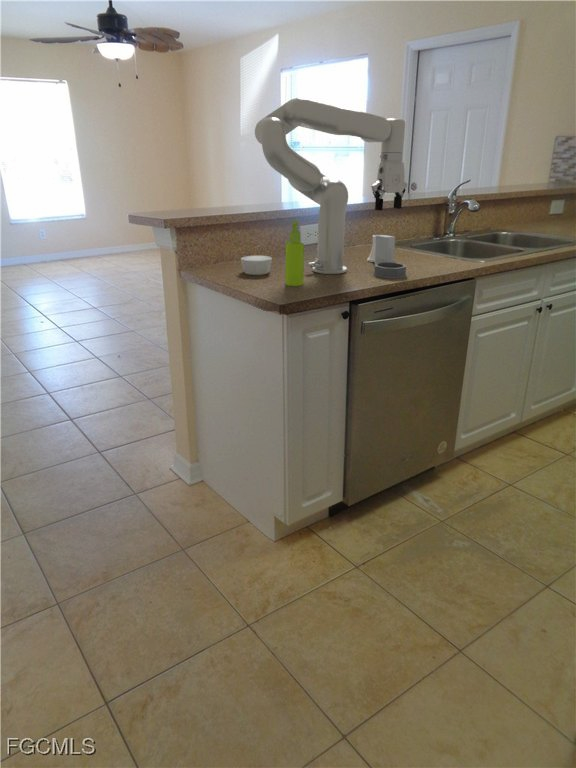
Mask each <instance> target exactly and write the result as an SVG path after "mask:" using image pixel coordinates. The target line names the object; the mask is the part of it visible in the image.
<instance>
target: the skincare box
mask: <svg viewBox="0 0 576 768" xmlns="http://www.w3.org/2000/svg"><path fill="white" fill-rule="evenodd" d="M377 235H378V236H376V250H375V263H381V262H394V263H395V247H396V245H395V243H396V236H394V235H388V234H386V235H385V234H377ZM375 263H374V264H375Z"/></svg>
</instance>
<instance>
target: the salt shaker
mask: <svg viewBox="0 0 576 768" xmlns="http://www.w3.org/2000/svg"><path fill="white" fill-rule="evenodd" d="M378 235H379V234H373V235H372V245H371V251H370V252H369V256H368V257H367V262H368V261H369V263H373V262H374V264H375V250H376V236H378Z"/></svg>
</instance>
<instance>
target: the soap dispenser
mask: <svg viewBox="0 0 576 768" xmlns="http://www.w3.org/2000/svg"><path fill="white" fill-rule="evenodd" d="M291 225H292V229H291V232H289V242H287V243H285V285H286V286H289V287H290V286H291V287H298V286H299V287H300V286H303V285H304V262H305V261H304V259H305V257H304V256H305V252H304V251H305V244H304V243H303V242H301V232H299V231H298V227H299V221H298V220H292V221H291Z"/></svg>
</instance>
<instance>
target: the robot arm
mask: <svg viewBox="0 0 576 768" xmlns="http://www.w3.org/2000/svg"><path fill="white" fill-rule="evenodd" d="M298 127H301V128H306V129H310V130H314V131H316V132H317V131H318V132H322V133H326V134H329V135H330V134H331V135H334V136H350V137H357V138H360V139H361V140H362V141H363V142H367V143H381V150H380V156H379V158H380V162H379V165H378V170H377V176H376V177H377V178H376V181H375V183H373V184H371V186H370V187H371V192H372V194H373V195H374V197H373V198H374V199H375V200H374V201H375V203H374V204H375V205H374V210H375V211H383V208H384V198H383V197H384V196H385V193H387V194H392V193H393V194H394V195H395V196H394V199H393V209H398V210H399V209H402V202H403V197H404V194H405V193H406V189H407V188H408V183H407V182H406V181H405V173H406V172H405V163H404V162H403V158H404V147H405V145H404V143H405V131H406V122H405V120H404V119H403V118H385V117H383V116H380V115H376V114H372V113H368V112H363V111H359V110H355V109H351V108H347V107H343V106H338V105H334V104H330V103H326V102H323V101H319V100H315V99H313V98H312V99H311V98H308V97H302V96H300V97H299V96H298V97H296V98H293V99H292V98H291V99H289V100H287V102H285V103H284V104H282V105H281V106H280V107H279V106H278V108H276V109H275V110H273V111H272V112H271V113H269V114H267V115H266V116H264V117H263V118H261V119H259V121H258V122H257V123H256V125H255V128H254V136H255V140H256V141H257V142H258V144H259V143H260V144H261V146H262V147H261V148H262V153H263V156H264V157H265V158H264V159H265V161H266V162H267V163H268V164H269V166H270V167H271V168H272V169H273V170H274V171H276V172H278V173H279V174H280V175H281V176H283V177H284V178H286V179H287V181H288V182H289V184H290V185H291V187H292V188H293V189H295V190H296V191H298V192H299V193H301V195H304V196H305V197H307V198H308V199H310V200H312V201H313V202H315V203H316V204H318V205H319V211H318V217H317V219H318V220H317V249H316V250H317V251H316V252H317V253H316V254H317V255H316V258H314V261H313V262H312V261H311V262H310V261H309V262H307V263H306V267H307V268H308V269H311V268H312V271H313V272H315V273H318V274H324V275H337V274H344V273H347V271H348V268H347V266H344V252H345V250H344V249H345V226H346V215H347V207H348V203H349V191H348V188H347V186H346V184H345V183H344V182H342V181H341V180H340V179H337V178H336V179H334V178H329V177H328V176H326V175H324V174H323V173H322V172H321V170H320V168H319V167H318V166H317V165H316V164H314V163H313V162H311V161H309V160H307V159H306V158H304V157H303V156H302V155H300V154H299V153H297V152H296V151H295V150H293V149H292V148H291V147H290V145H289V144H288V141H287V135H288V134H290V133H291V132H292V131H294V130H295V129H297V128H298Z"/></svg>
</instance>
